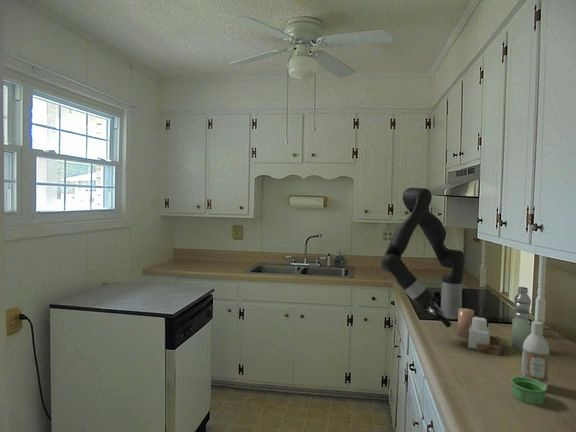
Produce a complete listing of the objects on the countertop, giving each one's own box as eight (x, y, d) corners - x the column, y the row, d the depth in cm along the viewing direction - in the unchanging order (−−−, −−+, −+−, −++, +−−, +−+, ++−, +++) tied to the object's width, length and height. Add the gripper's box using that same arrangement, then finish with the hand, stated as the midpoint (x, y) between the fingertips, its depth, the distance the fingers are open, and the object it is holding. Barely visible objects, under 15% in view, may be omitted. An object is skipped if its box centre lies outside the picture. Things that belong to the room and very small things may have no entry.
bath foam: (523, 388, 121) (526, 324, 120) (519, 378, 128) (522, 318, 127) (549, 392, 119) (553, 327, 118) (544, 382, 125) (547, 320, 124)
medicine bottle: (470, 342, 160) (471, 313, 159) (489, 345, 156) (491, 316, 156) (467, 347, 154) (468, 317, 153) (488, 351, 150) (489, 320, 150)
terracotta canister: (462, 332, 172) (463, 307, 171) (475, 336, 167) (476, 310, 166) (454, 334, 168) (455, 309, 168) (468, 339, 163) (469, 313, 163)
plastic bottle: (514, 334, 169) (516, 288, 168) (511, 329, 176) (513, 285, 175) (531, 336, 167) (533, 290, 166) (527, 331, 174) (529, 287, 173)
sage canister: (514, 344, 158) (516, 317, 158) (531, 348, 154) (532, 321, 153) (508, 347, 155) (509, 319, 154) (524, 352, 150) (526, 323, 150)
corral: (476, 351, 150) (477, 344, 150) (474, 340, 162) (474, 333, 162) (502, 355, 146) (502, 347, 146) (498, 343, 159) (498, 336, 158)
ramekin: (513, 402, 113) (514, 387, 113) (508, 388, 121) (508, 374, 121) (549, 408, 110) (550, 393, 110) (541, 394, 118) (542, 379, 118)
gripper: (424, 290, 156) (457, 325, 152) (426, 283, 168) (456, 315, 164) (410, 302, 158) (442, 336, 154) (413, 294, 170) (442, 326, 166)
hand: (449, 325), depth 159 cm, fingers closed
